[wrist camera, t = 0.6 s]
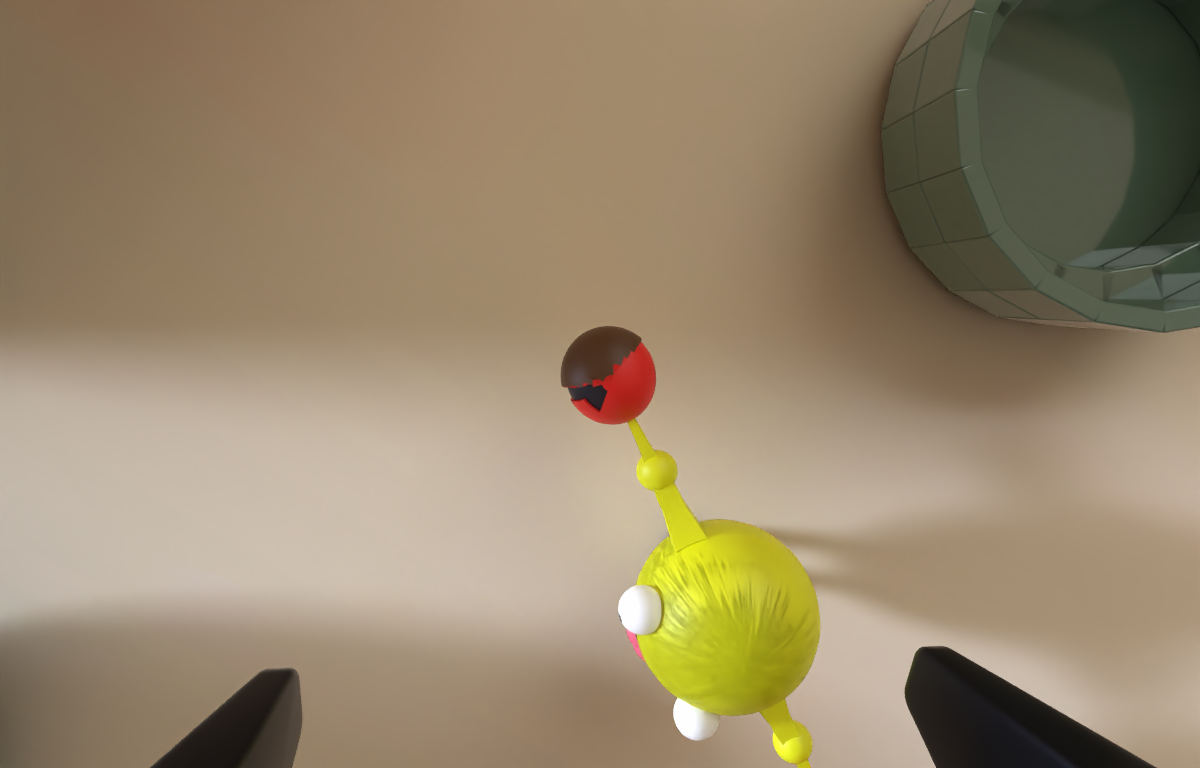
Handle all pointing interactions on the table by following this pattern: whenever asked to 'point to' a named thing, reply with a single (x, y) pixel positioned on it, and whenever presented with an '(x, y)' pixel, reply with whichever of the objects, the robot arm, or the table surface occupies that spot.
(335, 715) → the table surface
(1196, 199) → the bowl
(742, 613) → the toy figure
